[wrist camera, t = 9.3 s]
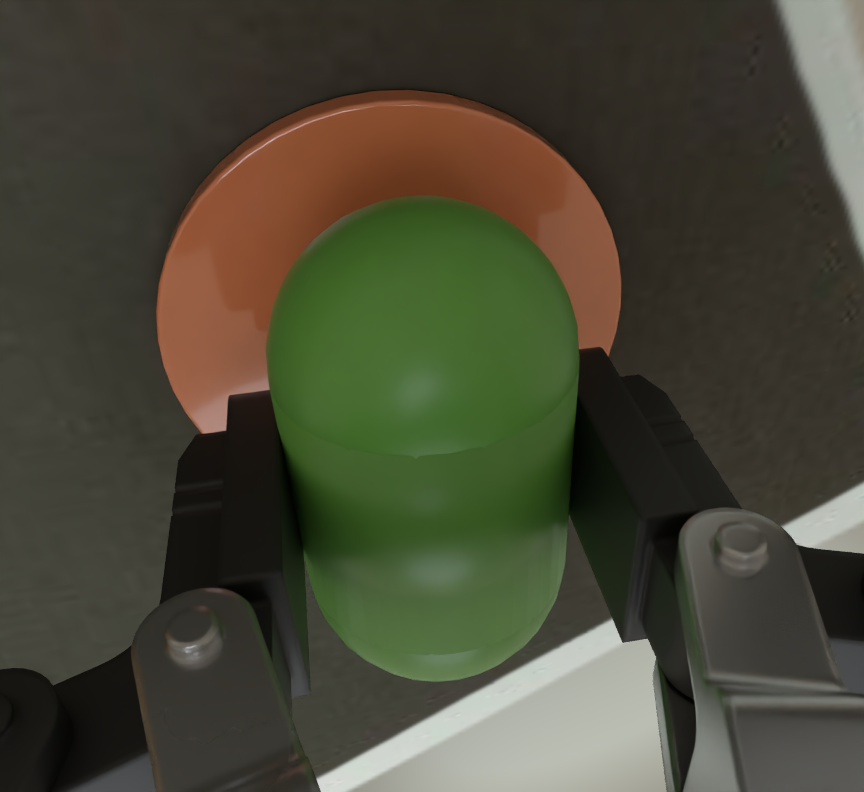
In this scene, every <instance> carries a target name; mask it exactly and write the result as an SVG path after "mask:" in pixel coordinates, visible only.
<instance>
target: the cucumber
mask: <svg viewBox="0 0 864 792" xmlns="http://www.w3.org/2000/svg"><path fill="white" fill-rule="evenodd" d="M265 350H266V362H267V374H268V382H269V389H270V394H271V398H272V403H273V408H274V413H275V418H276V422H277V427H278V430H279V434H280V439H281V443H282V448H283V453H284V458H285V463H286V467H287V472H288V477H289V482H290V487H291V492H292V496H293V501H294V506H295V511H296V516H297V521H298V525H299V530H300V535H301V540H302V545H303V550H304V557H305V562H306V567H307V572H308V576H309V580H310V583H311V587H312V590H313V592H314V595H315V598H316V600H317V603H318V605H319V607H320V609H321V611H322V613H323V615H324V617H325V619H326V621H327V622H328V623H329V624H330V626H331V627H332V628H333V629H334V630H335V632H336V633H337V634H338V635H339V637H340V638H341V639H342V640H343V641H344V643H345V644H346V645H347V646H348V647H349V648H350V649H351V650H353V651H354V652H355V653H357V654H358V655H359V656H361V657H362V658H363V659H364V660H366V661H368V662H370V663H372V664H374V665H376V666H378V667H380V668H382V669H384V670H386V671H388V672H390V673H392V674H395V675H398V676H402V677H406V678H410V679H413V680H423V681H435V682H437V681H449V680H459V679H462V678H466V677H470V676H474V675H477V674H480V673H482V672H485V671H487V670H489V669H491V668H493V667H495V666H497V665H499V664H500V663H502V662H503V661H505V660H506V659H507V658H509V657H510V656H512V655H513V654H514V653H516V652H517V651H518V650H520V649H521V648H523V647H524V646H525V645H526V644H527V643H528V641H529V640H530V639H531V638H532V637H533V636H534V635H535V634H536V633H537V631H538V630H539V629H540V627H541V625H542V624H543V622H544V620H545V619H546V617H547V615H548V613H549V612H550V610H551V608H552V606H553V604H554V603H555V601H556V598H557V594H558V591H559V587H560V583H561V579H562V575H563V571H564V566H565V557H566V543H567V529H568V516H569V502H570V488H571V474H572V461H573V447H574V433H575V419H576V406H577V392H578V378H579V360H580V356H579V344H578V325H577V321H576V318H575V314H574V311H573V307H572V304H571V301H570V298H569V295H568V293H567V290H566V288H565V285H564V283H563V282H562V280H561V278H560V276H559V275H558V273H557V271H556V269H555V268H554V266H553V264H552V262H551V261H550V260H549V259H548V257H547V256H546V255H545V254H544V253H543V252H542V250H541V249H540V248H539V247H538V246H537V245H536V244H535V243H534V242H533V241H532V240H531V239H530V238H529V237H528V236H527V235H526V234H525V233H524V232H523V231H522V230H520V229H519V228H518V227H516V226H515V225H513V224H512V223H510V222H509V221H507V220H505V219H504V218H502V217H501V216H499V215H497V214H496V213H494V212H492V211H490V210H488V209H486V208H484V207H482V206H478V205H475V204H472V203H469V202H465V201H461V200H457V199H453V198H448V197H442V196H433V195H412V196H402V197H395V198H390V199H386V200H382V201H379V202H377V203H374V204H371V205H368V206H366V207H363V208H361V209H358V210H356V211H353V212H351V213H349V214H347V215H345V216H343V217H342V218H340V219H339V220H337V221H336V222H335V223H333V224H332V225H331V226H329V227H328V228H327V229H326V230H324V231H323V232H322V233H321V234H319V235H318V236H317V237H316V238H314V239H313V240H312V242H311V243H310V244H309V245H308V246H307V247H306V248H305V249H304V250H303V252H302V253H301V254H300V256H299V257H298V258H297V260H296V261H295V262H294V264H293V265H292V266H291V268H290V269H289V271H288V273H287V275H286V276H285V278H284V280H283V282H282V284H281V287H280V289H279V291H278V294H277V296H276V299H275V301H274V304H273V306H272V311H271V316H270V322H269V329H268V335H267V342H266V348H265Z"/></svg>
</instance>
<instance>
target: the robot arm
mask: <svg viewBox="0 0 864 792" xmlns="http://www.w3.org/2000/svg"><path fill="white" fill-rule="evenodd" d="M579 356H580V360H579V378H578V392H577V406H576V419H575V433H574V447H573V461H572V474H571V488H570V502H569V515H570V517H571V520H572V522H573V525H574V527H575V529H576V532H577V534H578V537H579V539H580V541H581V544H582V546H583V549H584V551H585V553H586V556H587V558H588V561H589V563H590V565H591V568H592V570H593V573H594V575H595V577H596V580H597V582H598V585H599V587H600V589H601V592H602V594H603V597H604V599H605V602H606V604H607V606H608V609H609V611H610V614H611V616H612V618H613V621H614V623H615V626H616V628H617V630H618V633H619V635H620V638H621V640H622V642H623V643H624V642H630V641H636V640H642V639H647V638H648V640H649V642H650V645H651V647H652V649H653V651H654V653H655V656H656V661H655V666H654V672H653V685H654V692H655V700H656V709H657V717H658V724H659V733H660V741H661V750H662V758H663V766H664V774H665V782H666V790H667V792H864V554H861V553H852V552H841V551H832V550H821V549H814V548H808V547H803V546H799V545H796V543H795V542H794V540H793V539H792V537H791V536H790V535H789V534H788V533H787V532H786V531H785V530H784V529H783V528H782V527H780V526H779V525H778V524H777V523H775V522H773V521H772V520H770V519H768V518H766V517H764V516H762V515H760V514H757V513H754V512H751V511H748V510H743V509H742V508H741V507H740V505H739V504H738V502H737V501H736V499H735V498H734V496H733V495H732V493H731V492H730V490H729V488H728V487H727V485H726V484H725V482H724V481H723V479H722V478H721V476H720V475H719V473H718V472H717V470H716V469H715V467H714V466H713V464H712V463H711V461H710V460H709V458H708V457H707V455H706V454H705V452H704V450H703V449H702V447H701V446H700V444H699V443H698V441H697V440H694V438H693V434H692V432H691V431H690V429H689V428H688V426H687V425H686V423H685V422H684V421H681V416H680V414H679V412H678V411H677V409H676V408H675V406H674V405H673V403H672V402H671V400H670V399H669V397H668V396H667V394H666V393H665V392H664V391H662V390H661V389H659V388H658V387H656V386H655V385H653V384H652V383H651V382H649V381H648V380H646V379H645V378H643V377H642V376H640V375H632V376H625V377H620V376H619V374H618V372H617V371H616V369H615V367H614V366H613V364H612V362H611V361H610V359H609V357H608V356H607V354H606V352H605V351H604V349H603V348H601V347H592V348H585V349H579ZM175 491H176V493H174V499H173V507H172V512H173V516H171V522H170V530H169V538H168V546H167V554H166V562H165V569H164V577H163V585H162V593H161V600H160V604H159V606H158V607H157V608H155V609H154V610H153V611H152V612H151V613H150V614H149V615H148V616H147V617H146V618H145V619H144V621H143V622H142V623H141V625H140V626H139V628H138V630H137V632H136V633H135V636H134V639H133V642H132V645H131V646H130V647H129V648H128V649H126V650H125V651H124V652H122V653H121V654H119V655H118V656H116V657H115V658H113V659H111V660H109V661H107V662H105V663H103V664H101V665H99V666H97V667H95V668H92V669H90V670H88V671H85V672H83V673H81V674H79V675H76V676H74V677H72V678H69V679H67V680H65V681H63V682H60V683H58V684H56V685H54V686H53V685H52V684H51V683H50V681H49V680H48V679H47V678H46V677H44V676H43V675H42V674H40V673H38V672H35V671H33V670H28V669H23V668H10V669H2V670H0V792H321V791H320V788H319V785H318V783H317V780H316V777H315V774H314V772H313V769H312V767H311V764H310V762H309V759H308V757H307V756H305V753H304V751H303V748H302V746H301V743H300V740H299V737H298V734H297V731H296V729H295V726H294V723H293V720H292V698H296V697H301V696H307V695H311V688H310V668H309V648H308V629H307V609H306V589H305V570H304V550H303V545H302V540H301V535H300V530H299V525H298V521H297V516H296V511H295V506H294V501H293V496H292V492H291V487H290V482H289V477H288V472H287V467H286V463H285V458H284V453H283V448H282V443H281V439H280V434H279V430H278V427H277V422H276V418H275V413H274V408H273V403H272V398H271V394H270V390H265V391H257V392H250V393H242V394H235V395H229V397H228V408H227V424H226V431H219V432H212V433H205V434H198V435H196V436H195V437H194V439H193V440H192V442H191V443H190V445H189V446H188V447H187V449H186V450H185V452H184V453H183V455H182V456H181V458H180V459H179V460H178V468H177V476H176V483H175Z"/></svg>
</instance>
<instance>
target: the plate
mask: <svg viewBox="0 0 864 792" xmlns="http://www.w3.org/2000/svg"><path fill="white" fill-rule="evenodd" d="M412 195H433V196H442V197H448V198H453V199H457V200H461V201H465V202H469V203H472V204H475V205H478V206H482V207H484V208H486V209H488V210H490V211H492V212H494V213H496V214H497V215H499V216H501V217H502V218H504V219H505V220H507V221H509V222H510V223H512V224H513V225H515V226H516V227H518V228H519V229H520V230H522V231H523V232H524V233H525V234H526V235H527V236H528V237H529V238H530V239H531V240H532V241H533V242H534V243H535V244H536V245H537V246H538V247H539V248H540V249H541V250H542V252H543V253H544V254H545V255H546V256H547V257H548V259H549V260H550V261H551V262H552V264H553V266H554V268H555V269H556V271H557V273H558V275H559V276H560V278H561V280H562V282H563V283H564V285H565V288H566V290H567V293H568V295H569V298H570V301H571V304H572V307H573V311H574V314H575V318H576V321H577V325H578V344H579V349H585V348H592V347H601V348H603V349H604V351H605V352H606V354H607V356H609V353H610V350H611V347H612V344H613V341H614V338H615V334H616V330H617V325H618V319H619V313H620V308H621V281H622V280H621V271H620V263H619V254H618V251H617V247H616V244H615V240H614V236H613V233H612V229H611V227H610V225H609V222H608V220H607V218H606V216H605V214H604V211H603V209H602V207H601V205H600V203H599V201H598V200H597V198H596V197H595V195H594V194H593V192H592V191H591V189H590V188H589V186H588V185H587V183H586V182H585V180H584V179H583V178H582V177H581V175H580V174H579V173H578V172H577V170H576V169H575V168H574V167H573V166H572V165H571V164H570V163H569V161H568V160H567V159H566V158H565V157H564V156H563V155H562V154H561V153H560V152H559V150H558V149H557V148H555V147H554V146H553V145H552V144H551V143H549V142H548V141H547V140H546V139H544V138H543V137H542V136H541V135H539V134H538V133H537V132H536V131H534V130H533V129H531V128H530V127H528V126H526V125H525V124H523V123H521V122H520V121H518V120H516V119H514V118H513V117H511V116H509V115H508V114H506V113H503V112H501V111H498V110H496V109H493V108H491V107H488V106H486V105H483V104H481V103H479V102H476V101H472V100H468V99H464V98H460V97H456V96H452V95H448V94H444V93H434V92H425V91H415V90H391V91H372V92H366V93H360V94H354V95H348V96H342V97H338V98H334V99H331V100H328V101H325V102H321V103H318V104H315V105H312V106H308V107H305V108H303V109H301V110H299V111H297V112H295V113H292V114H290V115H288V116H286V117H284V118H282V119H279V120H277V121H275V122H273V123H272V124H270V125H269V126H267V127H266V128H264V129H262V130H261V131H259V132H258V133H256V134H255V135H253V136H252V137H250V138H248V139H247V140H245V141H244V142H243V143H242V144H241V145H239V146H238V147H237V148H236V149H235V150H234V151H232V152H231V153H230V154H229V155H228V156H227V157H225V158H224V159H223V160H222V161H221V162H220V163H219V164H218V165H217V166H216V167H215V168H214V170H213V171H212V172H211V173H210V174H209V175H208V176H207V178H206V179H205V180H204V181H203V182H202V183H201V185H200V186H199V187H198V188H197V190H196V191H195V193H194V195H193V196H192V198H191V199H190V201H189V202H188V204H187V205H186V207H185V209H184V210H183V212H182V213H181V216H180V218H179V220H178V222H177V225H176V227H175V229H174V231H173V233H172V236H171V238H170V240H169V244H168V247H167V251H166V255H165V258H164V262H163V266H162V270H161V274H160V279H159V285H158V294H157V303H156V325H157V340H158V344H159V349H160V353H161V358H162V363H163V366H164V369H165V371H166V374H167V377H168V379H169V382H170V384H171V387H172V389H173V391H174V393H175V395H176V396H177V398H178V400H179V402H180V404H181V405H182V407H183V409H184V411H185V412H186V414H187V415H188V416H189V418H190V419H191V420H192V421H193V423H194V424H195V425H196V427H197V428H198V429H199V430H200V432H201V433H202V434H205V433H212V432H219V431H226V424H227V408H228V397H229V395H235V394H242V393H250V392H257V391H265V390H270V389H269V382H268V374H267V362H266V350H265V348H266V342H267V335H268V329H269V322H270V316H271V311H272V306H273V304H274V301H275V299H276V296H277V294H278V291H279V289H280V287H281V284H282V282H283V280H284V278H285V276H286V275H287V273H288V271H289V269H290V268H291V266H292V265H293V264H294V262H295V261H296V260H297V258H298V257H299V256H300V254H301V253H302V252H303V250H304V249H305V248H306V247H307V246H308V245H309V244H310V243H311V242H312V240H313V239H314V238H316V237H317V236H318V235H319V234H321V233H322V232H323V231H324V230H326V229H327V228H328V227H329V226H331V225H332V224H333V223H335V222H336V221H337V220H339V219H340V218H342V217H343V216H345V215H347V214H349V213H351V212H353V211H356V210H358V209H361V208H363V207H366V206H368V205H371V204H374V203H377V202H379V201H382V200H386V199H390V198H395V197H402V196H412Z"/></svg>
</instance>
